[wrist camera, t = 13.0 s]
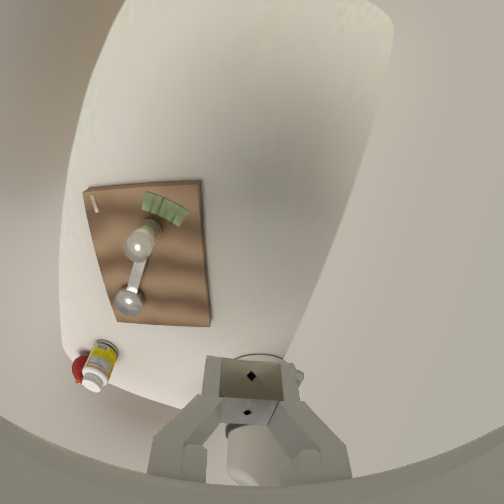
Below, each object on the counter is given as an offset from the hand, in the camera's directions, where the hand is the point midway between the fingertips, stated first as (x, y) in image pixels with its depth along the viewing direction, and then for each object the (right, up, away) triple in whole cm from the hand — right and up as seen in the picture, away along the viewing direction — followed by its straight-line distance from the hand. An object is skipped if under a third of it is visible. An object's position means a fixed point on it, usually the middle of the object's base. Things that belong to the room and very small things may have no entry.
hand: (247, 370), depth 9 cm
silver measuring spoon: (-16, +2, +29) cm, 33 cm away
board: (-15, +3, +31) cm, 35 cm away
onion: (-36, -19, +43) cm, 59 cm away
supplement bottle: (-30, -16, +42) cm, 53 cm away
